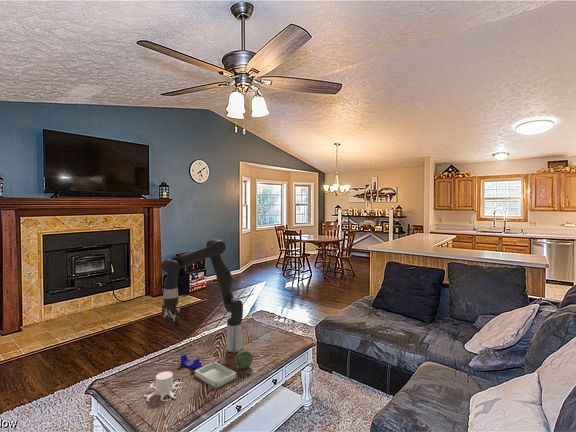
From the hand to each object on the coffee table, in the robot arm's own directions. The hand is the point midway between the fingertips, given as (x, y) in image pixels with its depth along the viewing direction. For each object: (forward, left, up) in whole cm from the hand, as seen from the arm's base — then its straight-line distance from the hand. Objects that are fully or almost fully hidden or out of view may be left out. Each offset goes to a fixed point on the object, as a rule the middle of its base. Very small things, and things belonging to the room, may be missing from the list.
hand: (171, 325), depth 173 cm
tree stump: (+9, +8, -29) cm, 32 cm away
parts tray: (-16, +18, -29) cm, 37 cm away
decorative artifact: (-32, +24, -29) cm, 49 cm away
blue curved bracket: (-14, -3, -29) cm, 32 cm away
